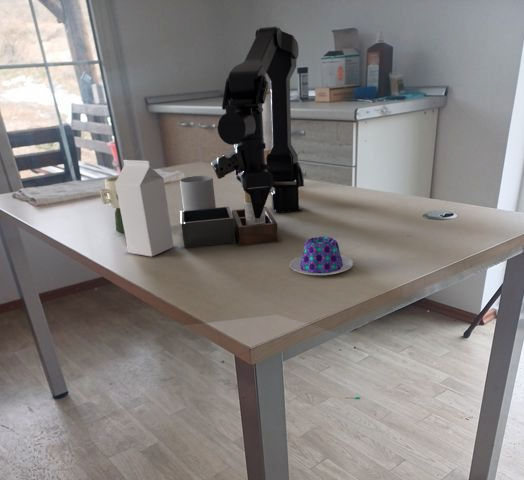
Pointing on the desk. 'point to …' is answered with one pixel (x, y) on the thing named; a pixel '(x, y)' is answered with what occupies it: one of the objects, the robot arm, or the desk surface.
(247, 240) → the rack
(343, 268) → the purple bucket hat
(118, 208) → the character mug
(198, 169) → the desk surface
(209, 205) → the cup
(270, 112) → the fruit juice
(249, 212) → the sprinkles bottle
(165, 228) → the milk carton
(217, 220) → the dark grey open box
